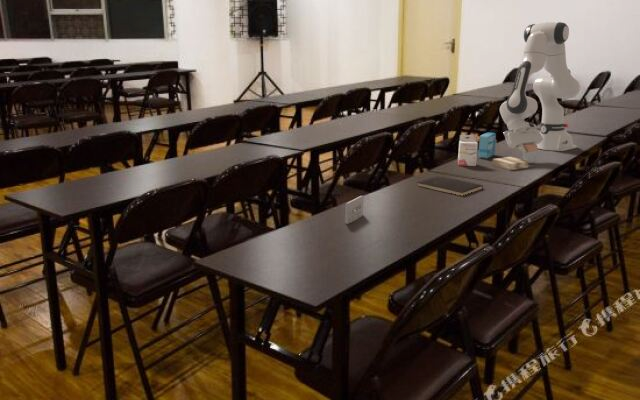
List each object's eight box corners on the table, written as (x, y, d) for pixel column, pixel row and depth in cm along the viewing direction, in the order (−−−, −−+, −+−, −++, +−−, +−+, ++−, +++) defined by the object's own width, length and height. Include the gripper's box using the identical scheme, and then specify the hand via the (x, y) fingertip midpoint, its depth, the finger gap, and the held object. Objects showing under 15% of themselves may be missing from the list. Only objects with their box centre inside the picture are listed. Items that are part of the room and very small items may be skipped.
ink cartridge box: (458, 165, 291) (460, 136, 287) (457, 163, 296) (459, 134, 291) (476, 166, 290) (478, 136, 286) (474, 163, 295) (476, 134, 290)
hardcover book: (462, 197, 242) (462, 192, 241) (417, 187, 258) (417, 182, 257) (482, 189, 252) (483, 184, 252) (438, 180, 268) (438, 175, 268)
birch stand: (511, 162, 297) (511, 156, 296) (528, 167, 286) (528, 161, 285) (492, 164, 292) (492, 159, 291) (509, 170, 282) (509, 164, 281)
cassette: (360, 214, 221) (360, 195, 219) (364, 215, 220) (364, 195, 218) (344, 223, 212) (344, 203, 209) (348, 224, 211) (348, 204, 208)
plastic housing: (530, 159, 296) (531, 143, 294) (535, 160, 293) (537, 145, 291) (522, 160, 294) (523, 144, 292) (528, 162, 291) (529, 146, 289)
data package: (486, 159, 304) (488, 136, 300) (478, 158, 306) (479, 135, 303) (494, 154, 313) (496, 132, 310) (486, 153, 316) (488, 131, 312)
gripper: (505, 127, 291) (518, 150, 285) (537, 123, 299) (550, 146, 293) (499, 134, 296) (511, 157, 290) (530, 131, 304) (542, 153, 298)
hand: (530, 151), depth 292 cm, fingers closed on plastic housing, 5 cm apart
